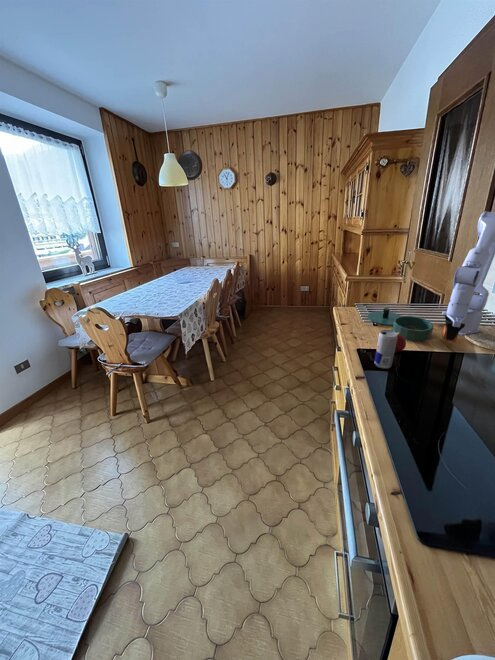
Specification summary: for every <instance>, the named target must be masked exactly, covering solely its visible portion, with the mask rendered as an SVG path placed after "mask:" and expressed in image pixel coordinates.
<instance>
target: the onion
mask: <svg viewBox="0 0 495 660" xmlns="http://www.w3.org/2000/svg"><path fill="white" fill-rule="evenodd" d="M397 336H398V338H397V343H396V347H395V352H394V353H400V352H402V351H403V350H404V349H405V348H406V345H407V340H405V339H404V337H403V336H401V335H400V333H399V332H398V333H397Z"/></svg>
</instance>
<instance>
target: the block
mask: <svg viewBox="0 0 495 660" xmlns="http://www.w3.org/2000/svg"><path fill="white" fill-rule="evenodd" d="M444 326H445V327H444ZM444 326H443V331H442V334H441V339H442V341H445V342H450V343H456V342H457V339H458V336H459V334H457V335H456V337H455V338H454V340H447V339H446V331H447V327H446V325H444ZM458 333H459V332H458Z"/></svg>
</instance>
